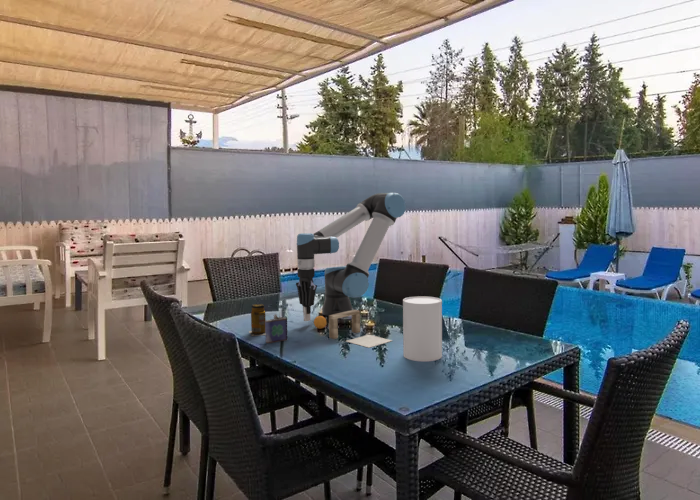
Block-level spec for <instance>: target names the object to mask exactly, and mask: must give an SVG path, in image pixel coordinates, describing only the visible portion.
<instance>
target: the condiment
mask: <svg viewBox="0 0 700 500" xmlns="http://www.w3.org/2000/svg"><path fill="white" fill-rule="evenodd" d="M266 320H267V319H266V311H265V304H263V303H257V304H252V305H251V312H250V323H251V324H250V325H251V330H248V333H249V334H250V336H251V337H256V336H257V337H258V336H259V337H260V336H266V332H265V321H266Z"/></svg>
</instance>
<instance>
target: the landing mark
mask: <svg viewBox="0 0 700 500" xmlns="http://www.w3.org/2000/svg"><path fill="white" fill-rule="evenodd" d="M345 342H346V343H350V344H354V345H357V346H361V347H364V348H368V349H369V348H373V347H377V346H379V345H383V344H387V343H390V342H393V340H392V339H389V338H385V337H384V338H383V337H380V336H377V335H373V334H367V335H362V336H359V337H355V338H350V339H347V340H345Z"/></svg>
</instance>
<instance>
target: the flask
mask: <svg viewBox="0 0 700 500" xmlns="http://www.w3.org/2000/svg"><path fill="white" fill-rule="evenodd" d="M265 332H266V335H265V343H266V344H272V343H278V342H284V341H288V318H287V317H286V316H285V317H283V316H278V314H276V313H275V314H274V315H273V318H272V319H266V321H265Z"/></svg>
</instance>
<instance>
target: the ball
mask: <svg viewBox="0 0 700 500" xmlns="http://www.w3.org/2000/svg"><path fill="white" fill-rule="evenodd" d="M313 319H314V320H313V325H314V326H315V328H317V329H319V330H321V329H324V328H325V327H326V325H327V319H326V317H324V316H323V315H317V316H316V317H315V318H313Z"/></svg>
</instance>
